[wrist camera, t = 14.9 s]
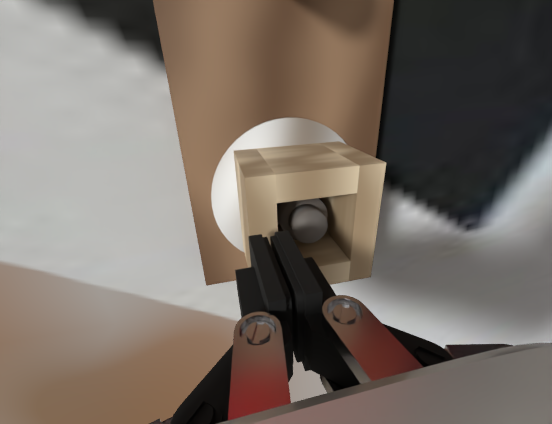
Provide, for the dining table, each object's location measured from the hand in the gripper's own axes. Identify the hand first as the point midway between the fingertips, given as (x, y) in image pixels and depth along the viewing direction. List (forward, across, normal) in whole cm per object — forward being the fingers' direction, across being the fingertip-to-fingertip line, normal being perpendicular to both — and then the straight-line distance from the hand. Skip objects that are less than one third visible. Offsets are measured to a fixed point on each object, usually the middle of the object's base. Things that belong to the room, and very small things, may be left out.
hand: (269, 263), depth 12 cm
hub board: (+8, -3, -6) cm, 11 cm away
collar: (+6, -3, 0) cm, 7 cm away
